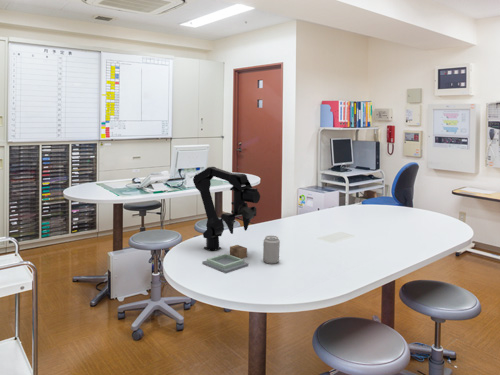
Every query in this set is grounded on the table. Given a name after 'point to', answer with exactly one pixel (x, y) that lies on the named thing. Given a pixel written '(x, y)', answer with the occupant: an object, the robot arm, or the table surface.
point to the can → (271, 249)
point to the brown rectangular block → (238, 251)
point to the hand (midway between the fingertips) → (238, 232)
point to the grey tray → (225, 263)
